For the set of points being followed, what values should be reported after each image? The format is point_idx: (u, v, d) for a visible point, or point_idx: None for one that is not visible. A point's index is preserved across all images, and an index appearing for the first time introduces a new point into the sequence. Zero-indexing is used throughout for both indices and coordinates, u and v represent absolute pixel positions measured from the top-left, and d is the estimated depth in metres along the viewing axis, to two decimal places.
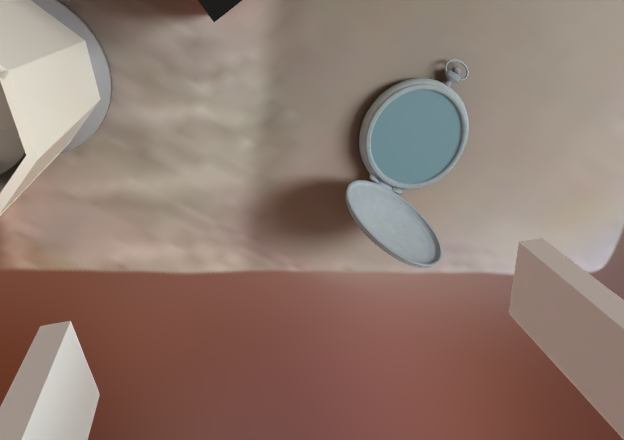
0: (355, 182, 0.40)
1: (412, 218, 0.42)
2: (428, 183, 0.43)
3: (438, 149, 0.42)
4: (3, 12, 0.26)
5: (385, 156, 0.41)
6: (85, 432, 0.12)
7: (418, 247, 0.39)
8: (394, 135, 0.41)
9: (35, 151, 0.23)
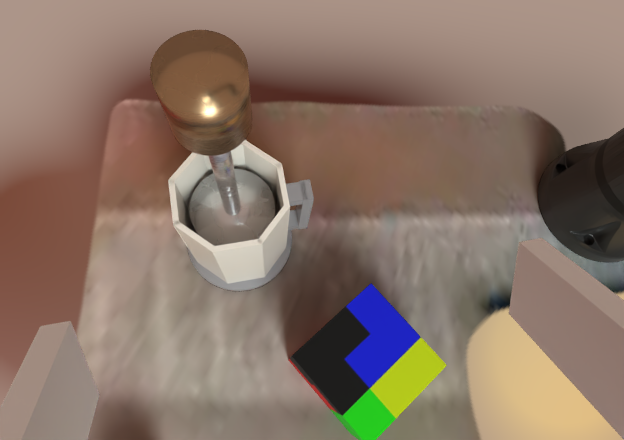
0: None
1: None
2: None
3: None
4: (282, 238, 0.48)
5: None
6: (85, 432, 0.12)
7: None
8: None
9: (216, 251, 0.39)
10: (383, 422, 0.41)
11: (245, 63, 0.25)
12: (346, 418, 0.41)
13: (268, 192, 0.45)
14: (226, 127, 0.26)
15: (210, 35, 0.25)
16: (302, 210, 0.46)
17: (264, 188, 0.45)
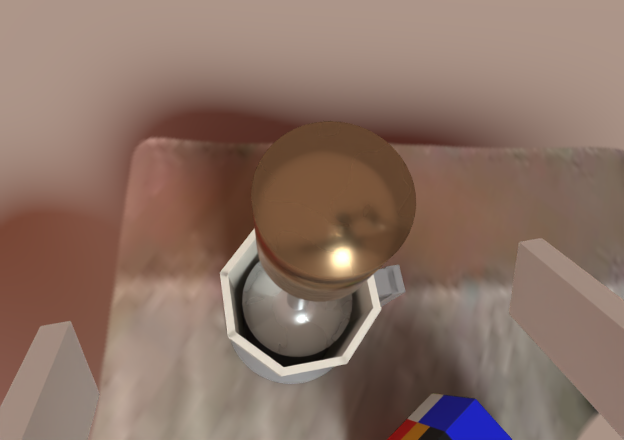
0: None
1: None
2: None
3: None
4: None
5: None
6: (85, 432, 0.12)
7: None
8: None
9: (287, 374, 0.29)
10: None
11: (410, 182, 0.15)
12: None
13: None
14: (365, 279, 0.16)
15: (347, 131, 0.15)
16: (384, 299, 0.36)
17: None
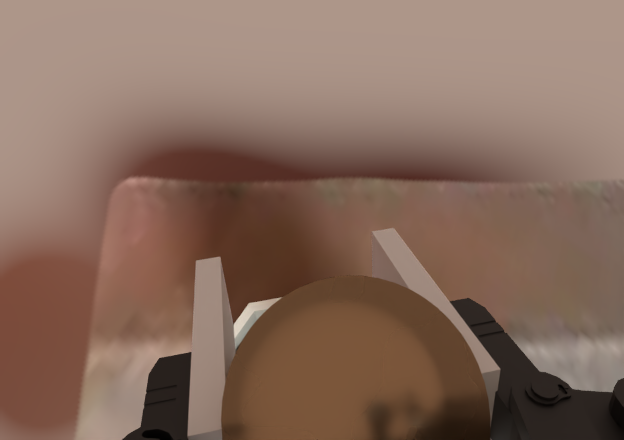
0: None
1: None
2: None
3: None
4: None
5: None
6: (234, 349, 0.15)
7: None
8: None
9: None
10: None
11: (480, 380, 0.09)
12: None
13: None
14: None
15: (375, 292, 0.09)
16: None
17: None
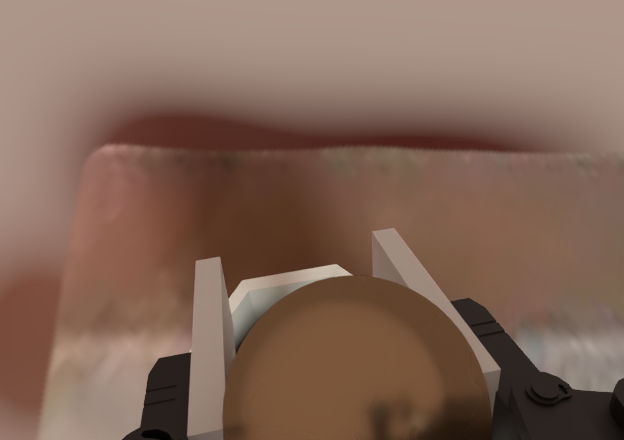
0: None
1: None
2: None
3: None
4: None
5: None
6: (234, 349, 0.15)
7: None
8: None
9: None
10: None
11: (481, 379, 0.09)
12: None
13: None
14: None
15: (376, 292, 0.09)
16: None
17: None
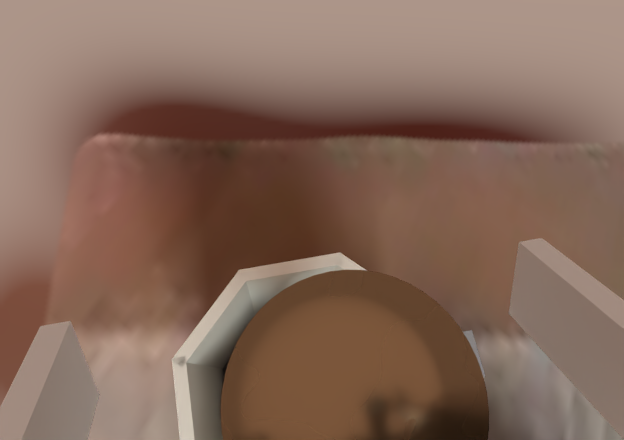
0: None
1: None
2: None
3: None
4: None
5: None
6: (85, 432, 0.12)
7: None
8: None
9: None
10: None
11: (478, 373, 0.09)
12: None
13: None
14: None
15: (374, 286, 0.09)
16: None
17: None
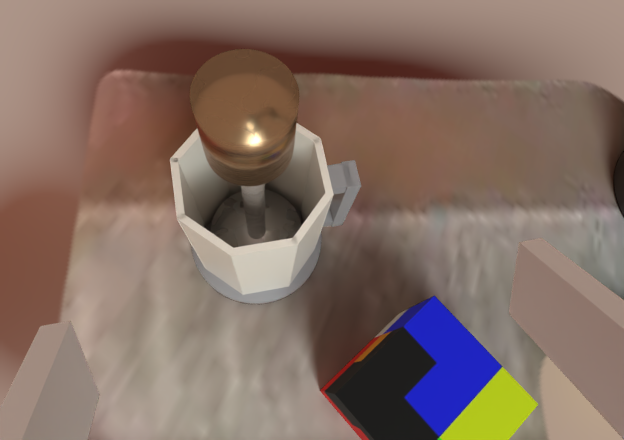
0: None
1: None
2: None
3: None
4: (315, 238, 0.37)
5: None
6: (85, 432, 0.12)
7: None
8: None
9: (236, 254, 0.29)
10: None
11: (296, 87, 0.22)
12: None
13: (294, 214, 0.42)
14: (272, 157, 0.23)
15: (255, 55, 0.22)
16: (343, 201, 0.36)
17: (290, 210, 0.42)
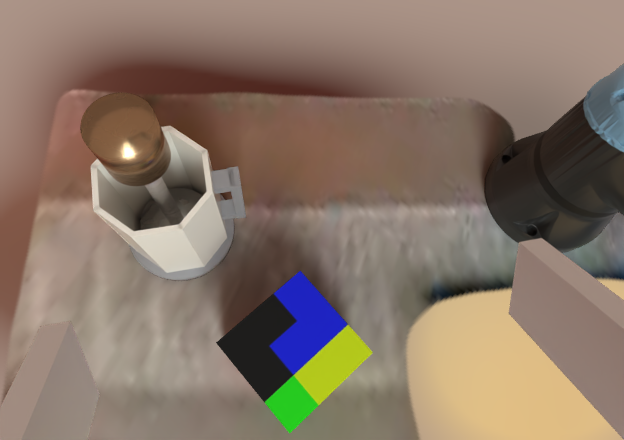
0: None
1: None
2: None
3: None
4: (215, 226, 0.48)
5: None
6: (85, 432, 0.12)
7: None
8: None
9: (136, 236, 0.39)
10: (305, 409, 0.41)
11: (155, 119, 0.32)
12: (268, 404, 0.41)
13: None
14: (143, 166, 0.34)
15: (128, 97, 0.33)
16: (233, 198, 0.46)
17: None
